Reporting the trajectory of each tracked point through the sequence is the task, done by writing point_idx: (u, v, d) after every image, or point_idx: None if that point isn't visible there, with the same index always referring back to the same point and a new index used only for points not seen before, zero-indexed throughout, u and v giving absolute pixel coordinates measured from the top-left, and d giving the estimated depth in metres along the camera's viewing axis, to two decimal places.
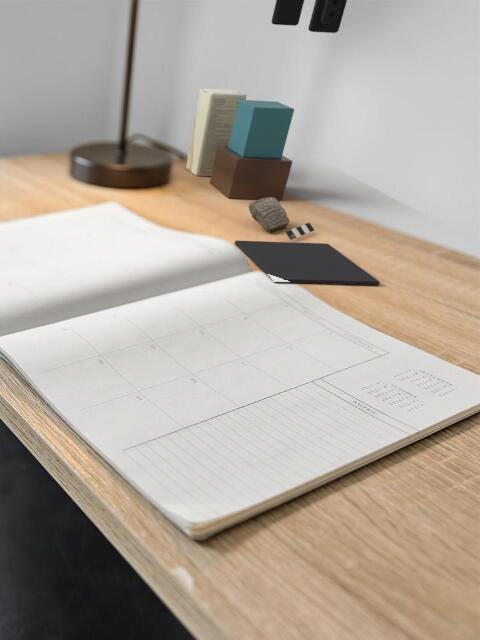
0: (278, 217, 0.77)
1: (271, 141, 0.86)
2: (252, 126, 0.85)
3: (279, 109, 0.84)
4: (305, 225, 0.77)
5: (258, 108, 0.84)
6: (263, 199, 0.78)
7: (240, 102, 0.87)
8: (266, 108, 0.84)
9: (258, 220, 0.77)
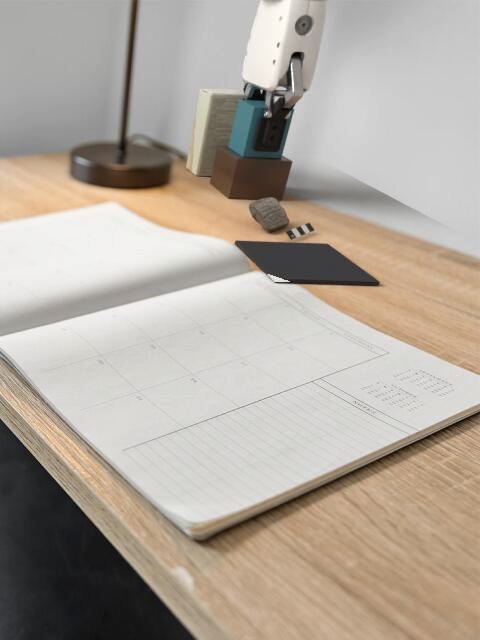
0: (278, 217, 0.77)
1: None
2: (252, 126, 0.85)
3: None
4: (305, 225, 0.77)
5: (258, 108, 0.84)
6: (263, 199, 0.78)
7: (240, 102, 0.87)
8: None
9: (258, 220, 0.77)
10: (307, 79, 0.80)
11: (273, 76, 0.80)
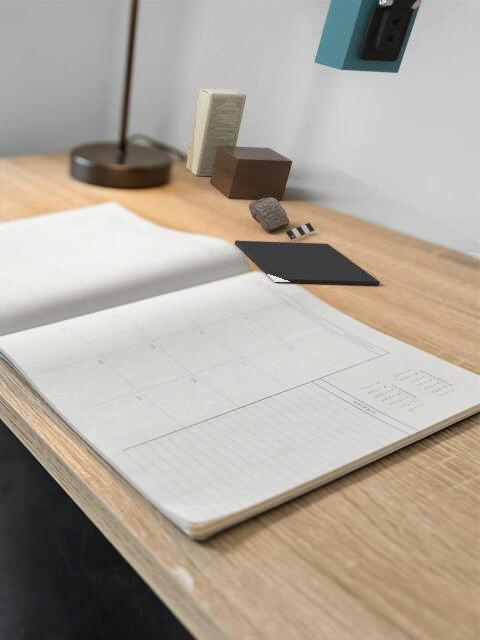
0: (278, 217, 0.77)
1: None
2: (358, 22, 0.57)
3: None
4: (305, 225, 0.77)
5: None
6: (263, 199, 0.78)
7: None
8: None
9: (258, 220, 0.77)
10: None
11: None
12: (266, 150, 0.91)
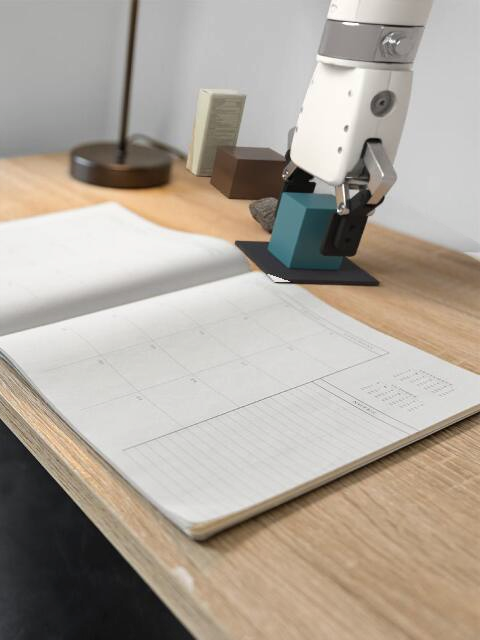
0: None
1: None
2: (302, 232, 0.65)
3: None
4: None
5: (311, 209, 0.64)
6: (263, 199, 0.78)
7: (285, 196, 0.67)
8: (322, 209, 0.64)
9: (258, 220, 0.77)
10: None
11: (338, 168, 0.60)
12: (266, 150, 0.91)
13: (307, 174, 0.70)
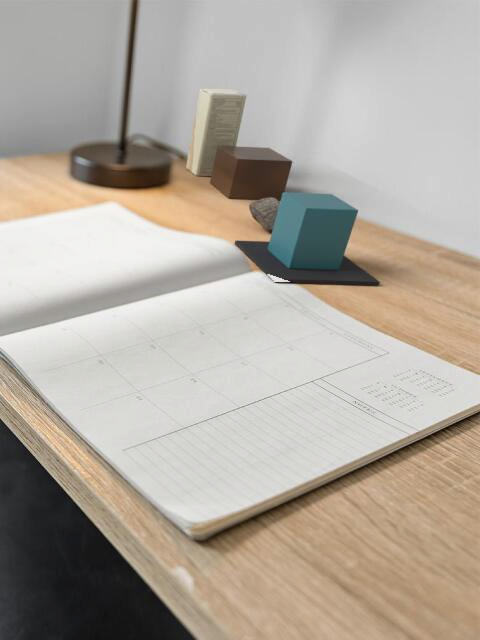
0: None
1: (326, 250, 0.66)
2: (302, 232, 0.65)
3: (339, 210, 0.64)
4: None
5: (311, 209, 0.64)
6: (263, 199, 0.78)
7: (285, 196, 0.67)
8: (322, 209, 0.64)
9: (258, 220, 0.77)
10: None
11: None
12: (266, 150, 0.91)
13: None
